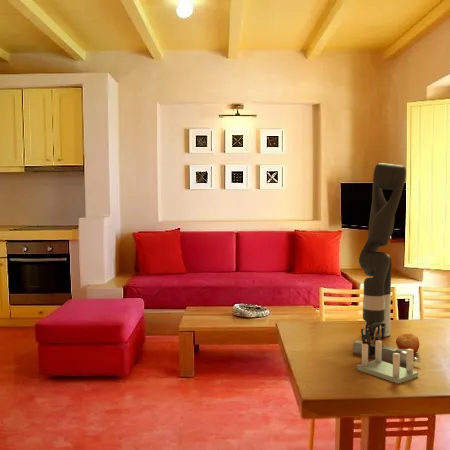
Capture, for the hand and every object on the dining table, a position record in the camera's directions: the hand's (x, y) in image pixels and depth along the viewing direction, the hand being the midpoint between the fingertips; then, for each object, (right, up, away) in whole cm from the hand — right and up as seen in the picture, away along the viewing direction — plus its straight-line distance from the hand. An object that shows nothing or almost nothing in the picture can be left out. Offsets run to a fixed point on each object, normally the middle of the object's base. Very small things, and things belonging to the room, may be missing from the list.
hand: (373, 353), depth 180 cm
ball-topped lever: (+3, -1, -3) cm, 5 cm away
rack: (-1, -2, -18) cm, 18 cm away
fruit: (+13, -1, +4) cm, 14 cm away
